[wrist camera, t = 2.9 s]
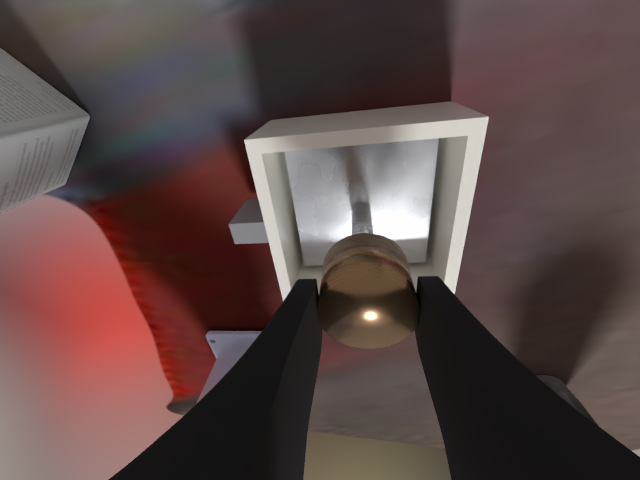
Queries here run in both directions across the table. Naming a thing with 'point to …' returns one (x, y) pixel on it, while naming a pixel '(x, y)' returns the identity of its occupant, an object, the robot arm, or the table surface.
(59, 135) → the skincare box
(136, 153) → the table surface
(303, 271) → the white framed panel box
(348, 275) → the plunger
